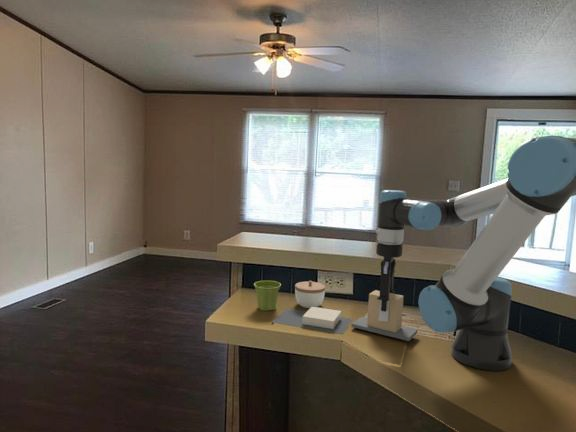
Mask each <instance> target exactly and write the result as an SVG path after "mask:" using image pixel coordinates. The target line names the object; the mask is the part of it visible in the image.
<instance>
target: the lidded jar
mask: <svg viewBox="0 0 576 432" xmlns="http://www.w3.org/2000/svg"><path fill="white" fill-rule="evenodd" d="M325 294H326V284H323V283H321V282H316V281H312V280H308V281H299V282H297V283H295V285H294V296H295V300H296V302H297V303H298V305H299V306H300V307H302V308H305V309H310V308H311V307H318V308H319V307H320V306H321V305H322V303H323V301H324V299H325Z"/></svg>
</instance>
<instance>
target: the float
mask: <svg viewBox="0 0 576 432" xmlns="http://www.w3.org/2000/svg"><path fill="white" fill-rule="evenodd" d="M379 295H380V290H377V289H375V290H373V291H372V292H370V293H368V303H367V304H368V307H367V316H360V317H359V318H358V319H356V320H355V321H353V322H351V328H355V329H359V330H363V331H367V332H370V333H375V334H378V335H383V336H385V337H390V338H395V339H399V340H402V341H406V342H410V341H411V340H412V339H413V338H414V337H415V336H416V335H417V334H418V329H417V328H413V327H408V326H404V325H402V322H403V309H404V295H402V294H397V293H389V315H388V322H385V321H379V306H380V300H378V299H377V297H378V298H379Z"/></svg>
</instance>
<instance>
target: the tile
mask: <svg viewBox="0 0 576 432" xmlns="http://www.w3.org/2000/svg"><path fill="white" fill-rule="evenodd" d="M341 317H342V310H337V309H330V308H324V307H319V306H318V307H311V308H308V310H307V311H306V313H305V314H304V315H303V320H302V324H303V325H308V326H314V327H320V328H326V329H332V330H333V329H334V328H335V326H336V325H337V323H338V322H339V320H340V319H341Z"/></svg>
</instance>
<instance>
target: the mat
mask: <svg viewBox="0 0 576 432" xmlns="http://www.w3.org/2000/svg"><path fill="white" fill-rule="evenodd" d="M306 312H307V311H304V310H297V309H293V308H286V309H284V310H283V312H281V313H280V314H279V315H278V316H277V317H276V318H274V319H273V320H272V321H271V325H274V324H280V325H286V326H290V327H291V326H292V327H297V328H303V329H308V330H315V331H321V332H327V333H334V334H338V335H344V334H345V332H346V331H347V329H348V328H349V325H351V324H352V321H353V318H349V317H342V316H341V319H340V320H339V322H338V323H337V325H336V326H335V328H334V329H333V330H332V329H326V328H320V327H314V326H308V325H303V324H302V320H303V315H304V314H305V313H306Z"/></svg>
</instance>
